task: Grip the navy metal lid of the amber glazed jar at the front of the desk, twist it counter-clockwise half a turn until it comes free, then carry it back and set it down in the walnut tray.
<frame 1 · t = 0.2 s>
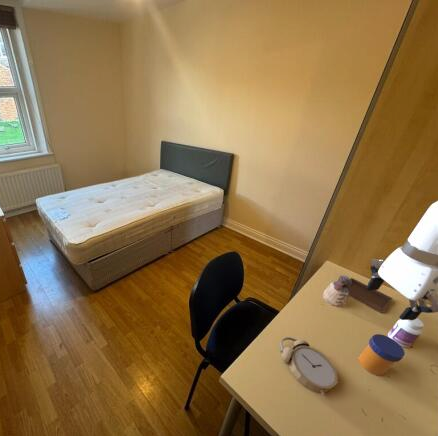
hand: (387, 303, 62), 21 cm above the table, tool pointing down, fingers open, 9 cm apart
figurine: (333, 300, 90), on the table
jar: (371, 364, 69), on the table
tray: (364, 296, 91), on the table
lid: (387, 345, 64), point 10 cm above the table, screwed on, not yet turned
pill bottle: (397, 340, 75), on the table
alarm clock: (303, 366, 69), on the table
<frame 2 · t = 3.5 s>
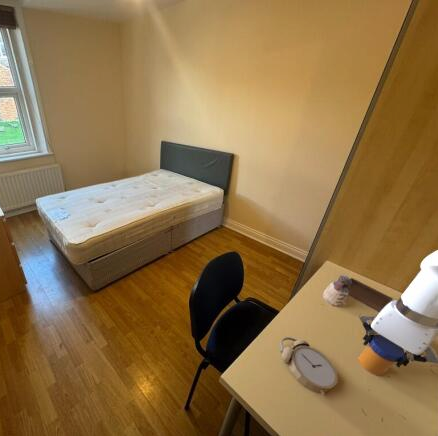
hand: (381, 352, 65), 7 cm above the table, tool pointing down, fingers closed on lid, 6 cm apart
lid: (387, 345, 64), point 10 cm above the table, screwed on, not yet turned, touching gripper
everything else where it was.
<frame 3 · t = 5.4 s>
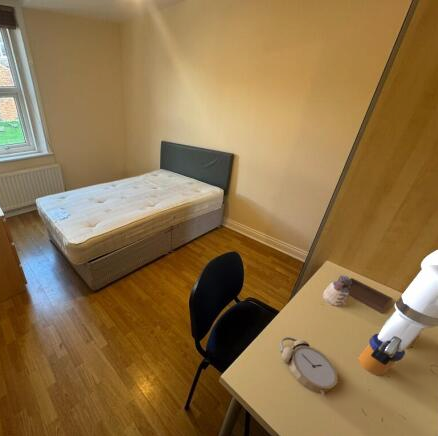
hand: (382, 351, 65), 7 cm above the table, tool pointing down, fingers closed on lid, 6 cm apart
lid: (387, 345, 64), point 10 cm above the table, turned 92° so far, risen 0.2 cm, still on its thread, touching gripper
everything else where it was.
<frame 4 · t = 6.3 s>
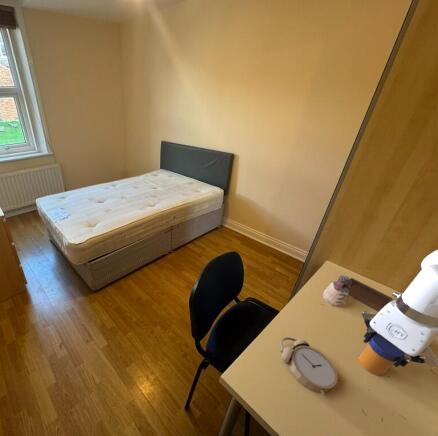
hand: (382, 351, 65), 7 cm above the table, tool pointing down, fingers closed on lid, 6 cm apart
lid: (387, 345, 64), point 10 cm above the table, off its thread, touching gripper
everything else where it was.
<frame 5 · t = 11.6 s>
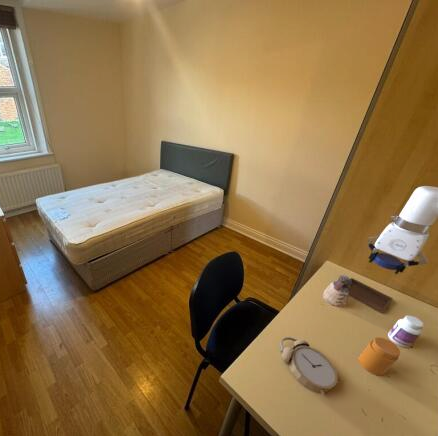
hand: (383, 266, 83), 16 cm above the table, tool pointing down, fingers closed on lid, 6 cm apart
lid: (388, 259, 81), point 19 cm above the table, off its thread, touching gripper
everything else where it was.
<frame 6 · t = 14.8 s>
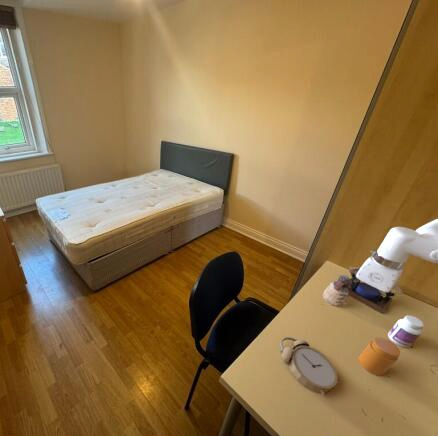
hand: (364, 294, 91), 1 cm above the table, tool pointing down, fingers closed on lid, 6 cm apart
lid: (368, 289, 89), point 4 cm above the table, off its thread, touching gripper
everything else where it was.
when the fingers open (1 cm above the table, at t = 19.9 s): lid drops 2 cm, resting on tray.
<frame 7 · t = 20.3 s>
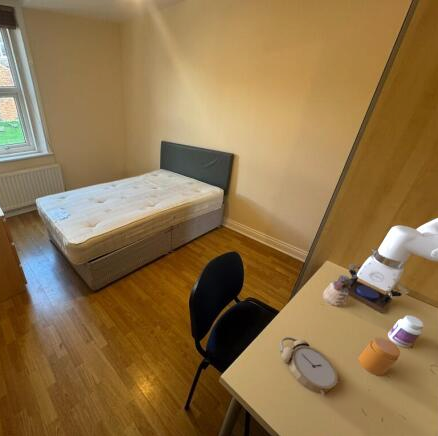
hand: (366, 292, 90), 2 cm above the table, tool pointing down, fingers open, 9 cm apart
lid: (367, 291, 90), point 2 cm above the table, off its thread, touching tray
everything else where it was.
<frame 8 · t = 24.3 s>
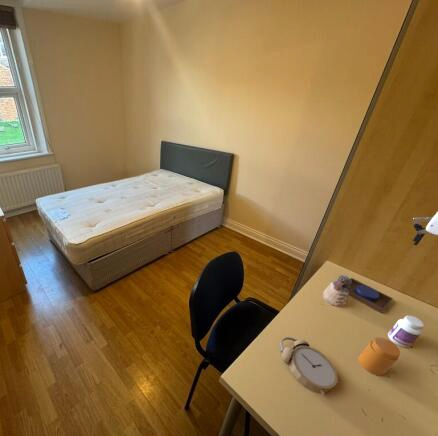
hand: (437, 251, 73), 26 cm above the table, tool pointing down, fingers open, 9 cm apart
nothing on the table moved.
at the end: lid came off its thread; lid inside the target area on the tray (0.1 cm from its centre), point 2.5 cm above the tray's base; the gripper is holding nothing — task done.
